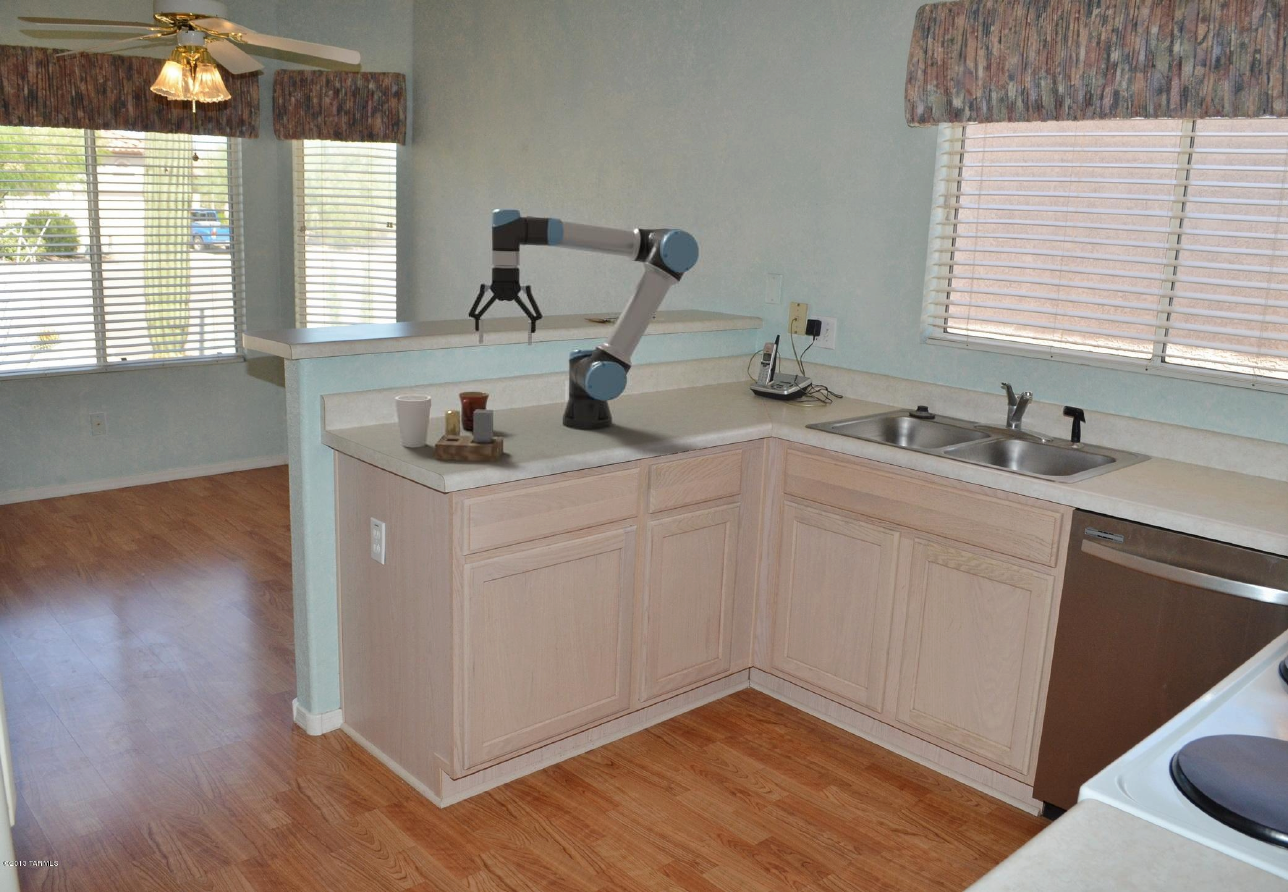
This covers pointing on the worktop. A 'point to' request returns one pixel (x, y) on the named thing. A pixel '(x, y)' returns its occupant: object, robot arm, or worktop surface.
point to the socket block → (467, 449)
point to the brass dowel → (452, 422)
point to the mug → (471, 406)
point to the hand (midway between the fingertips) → (505, 344)
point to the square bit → (483, 426)
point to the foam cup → (413, 419)
